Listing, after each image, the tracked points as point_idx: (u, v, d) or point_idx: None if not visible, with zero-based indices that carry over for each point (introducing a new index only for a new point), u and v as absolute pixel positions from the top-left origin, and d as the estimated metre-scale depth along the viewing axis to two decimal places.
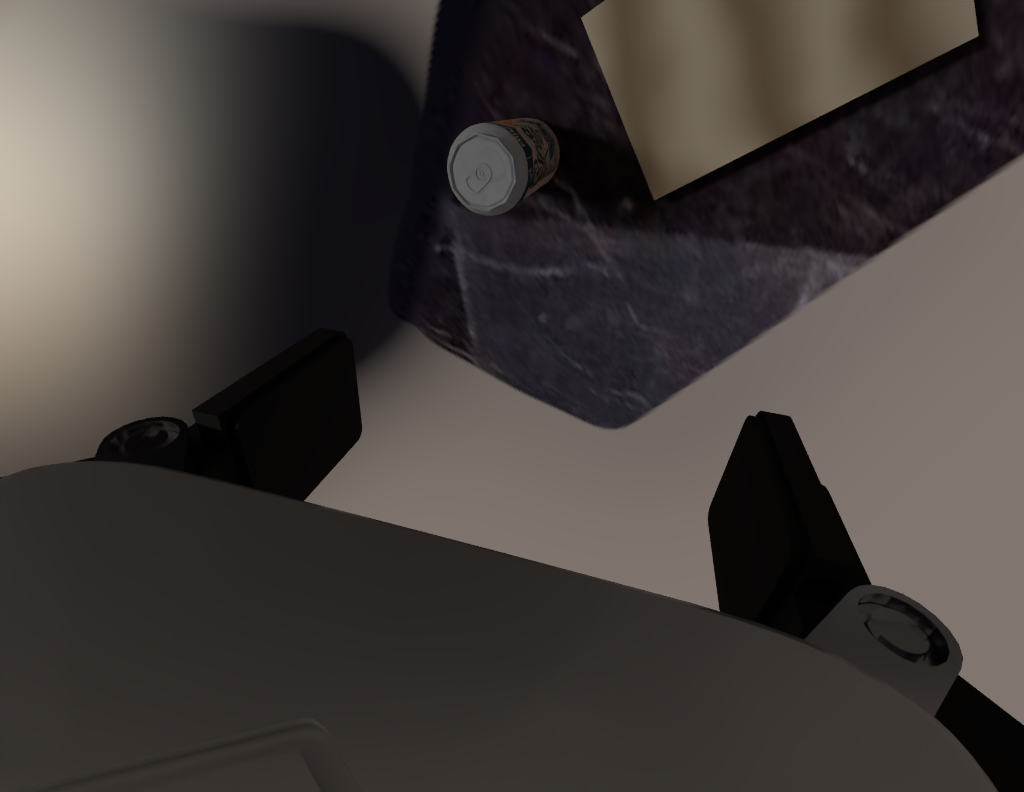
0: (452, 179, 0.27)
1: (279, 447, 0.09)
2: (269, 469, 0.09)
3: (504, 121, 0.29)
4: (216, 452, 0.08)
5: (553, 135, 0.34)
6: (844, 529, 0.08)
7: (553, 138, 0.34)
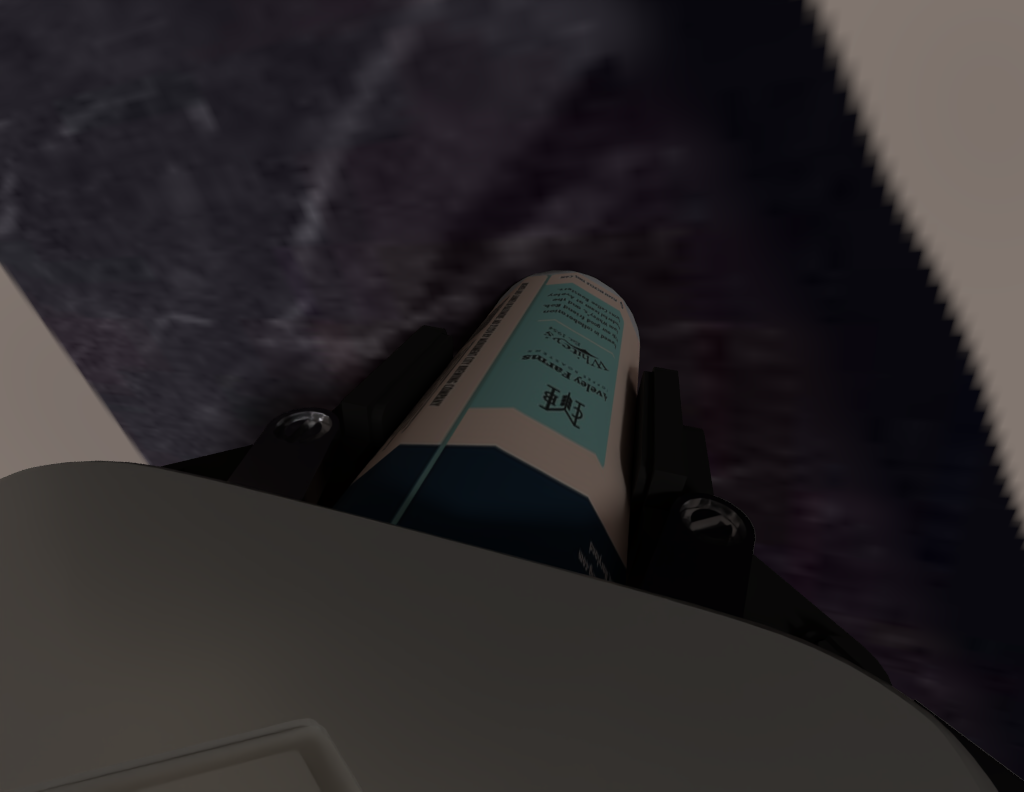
0: None
1: None
2: None
3: None
4: (358, 441, 0.09)
5: None
6: (706, 461, 0.09)
7: None
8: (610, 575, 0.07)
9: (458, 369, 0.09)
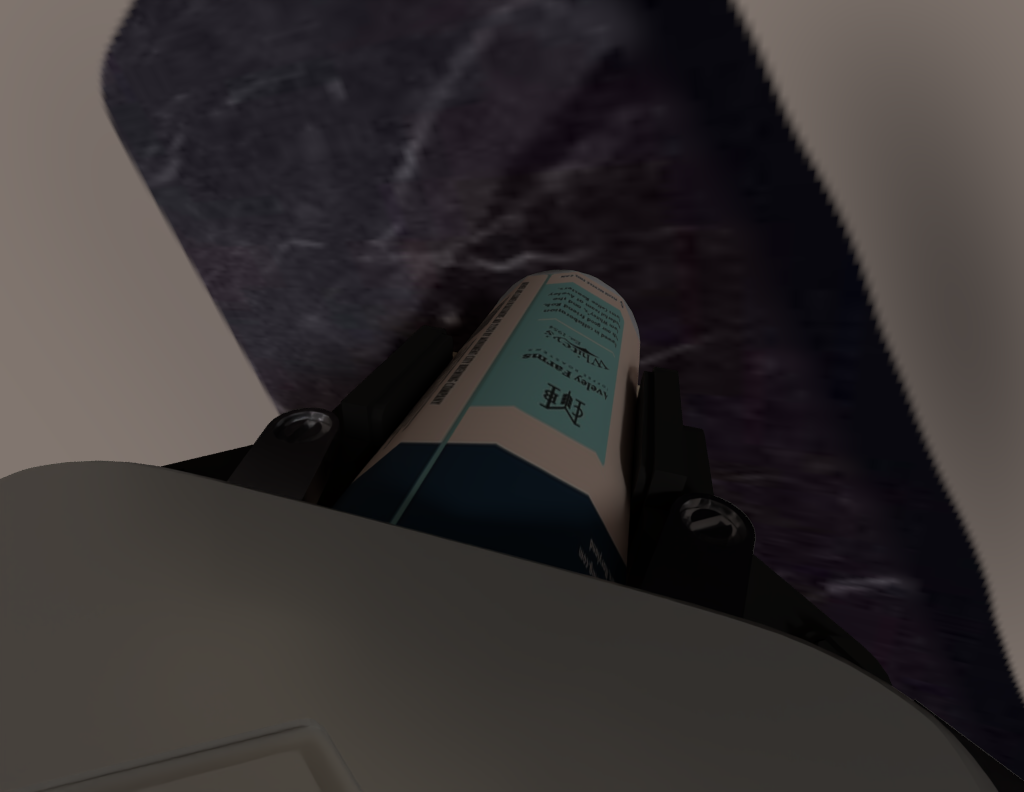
0: None
1: None
2: None
3: None
4: (358, 441, 0.09)
5: None
6: (706, 461, 0.09)
7: None
8: (610, 573, 0.07)
9: (459, 368, 0.09)
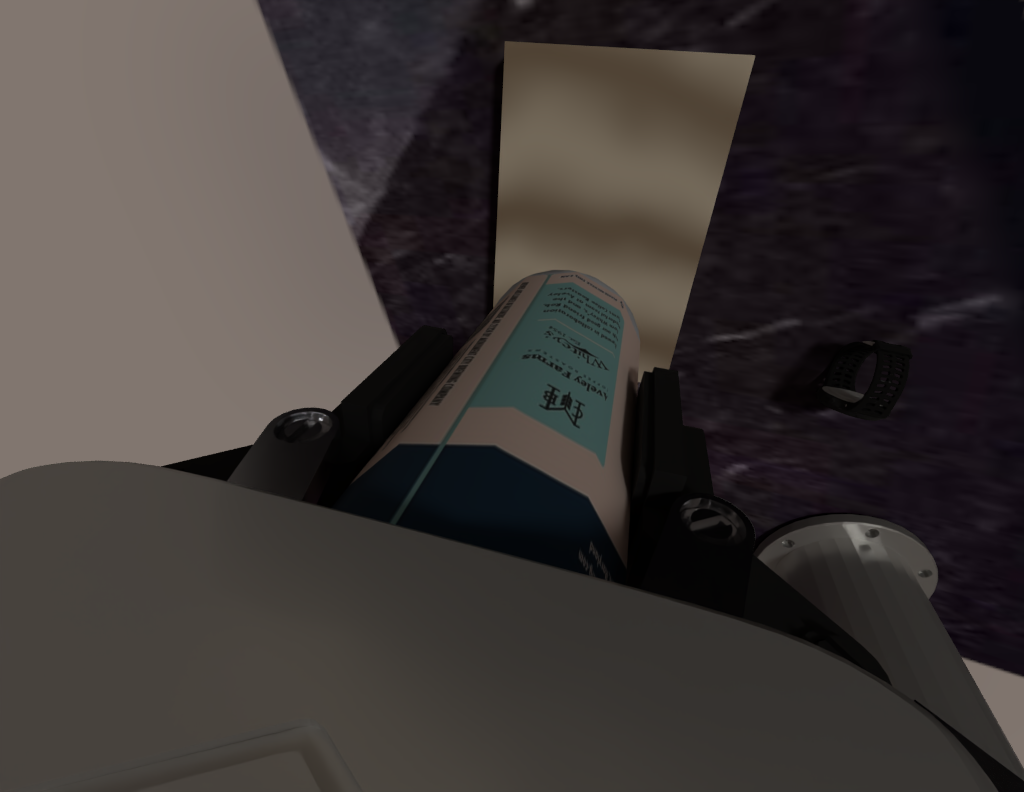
0: None
1: None
2: None
3: None
4: (358, 441, 0.09)
5: None
6: (706, 461, 0.09)
7: None
8: (610, 575, 0.06)
9: (458, 368, 0.09)
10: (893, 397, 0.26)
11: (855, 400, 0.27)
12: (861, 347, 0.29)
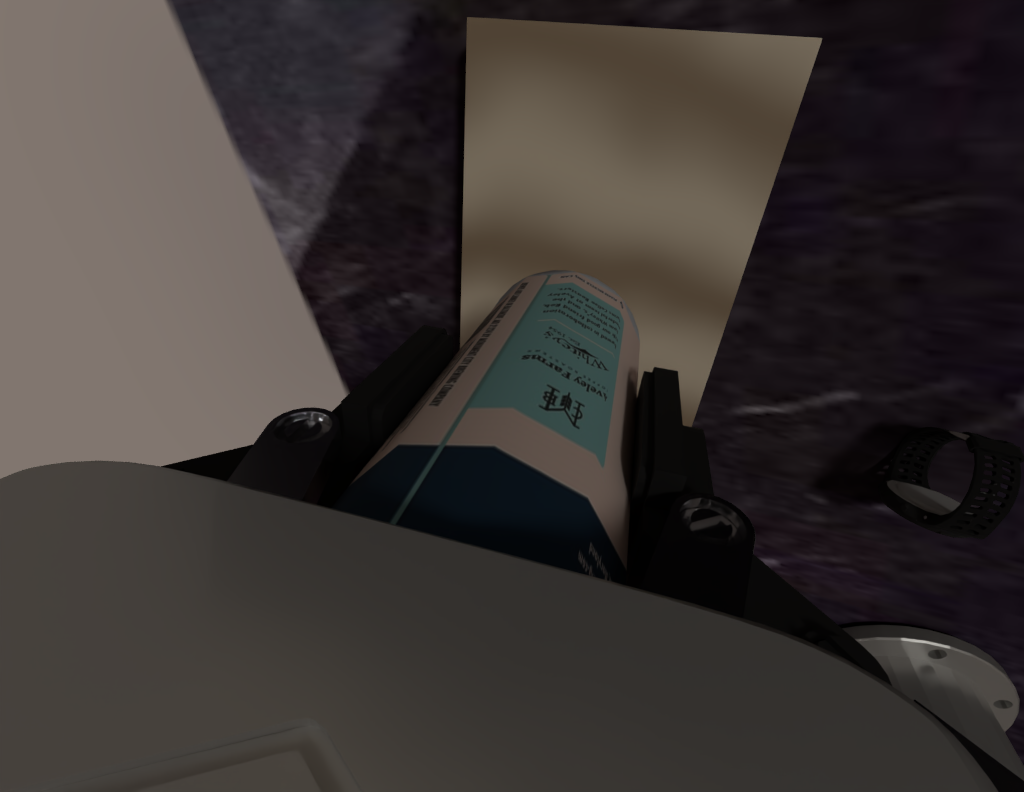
0: None
1: None
2: None
3: None
4: (358, 441, 0.09)
5: None
6: (706, 461, 0.09)
7: None
8: (610, 576, 0.06)
9: (457, 369, 0.09)
10: (997, 515, 0.19)
11: (937, 509, 0.20)
12: (941, 433, 0.22)
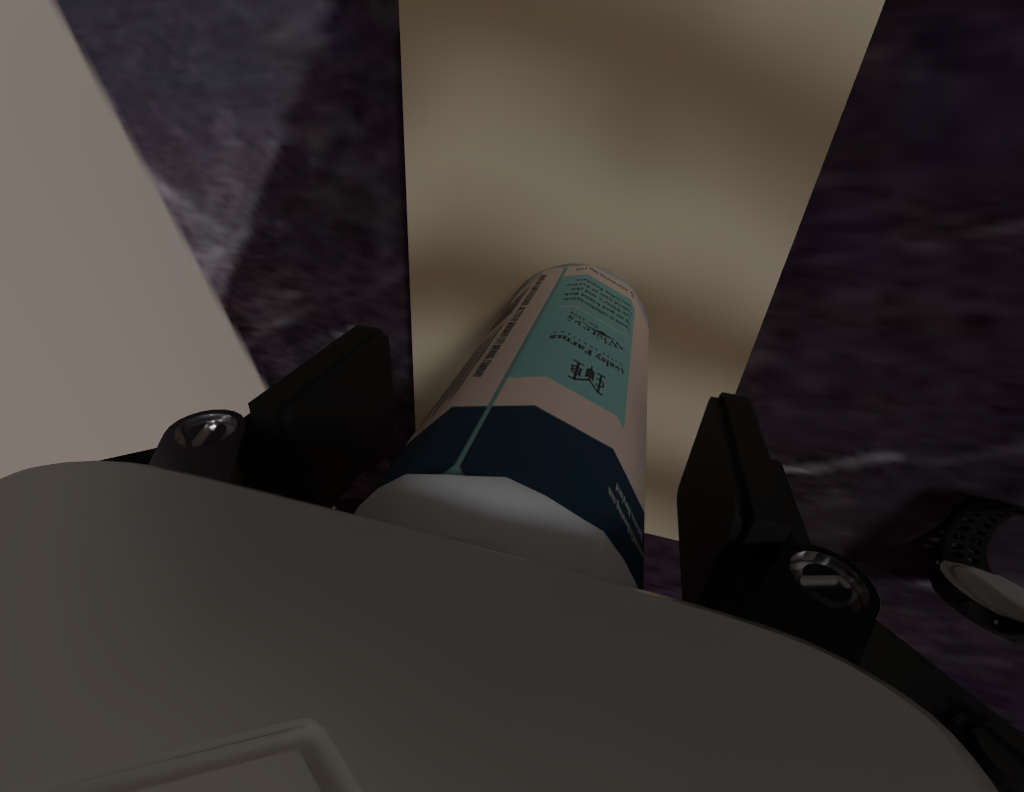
0: None
1: (325, 440, 0.10)
2: (316, 461, 0.10)
3: None
4: (269, 444, 0.09)
5: None
6: (793, 499, 0.08)
7: None
8: (632, 513, 0.08)
9: (493, 348, 0.10)
10: None
11: (1010, 610, 0.16)
12: (1009, 507, 0.17)
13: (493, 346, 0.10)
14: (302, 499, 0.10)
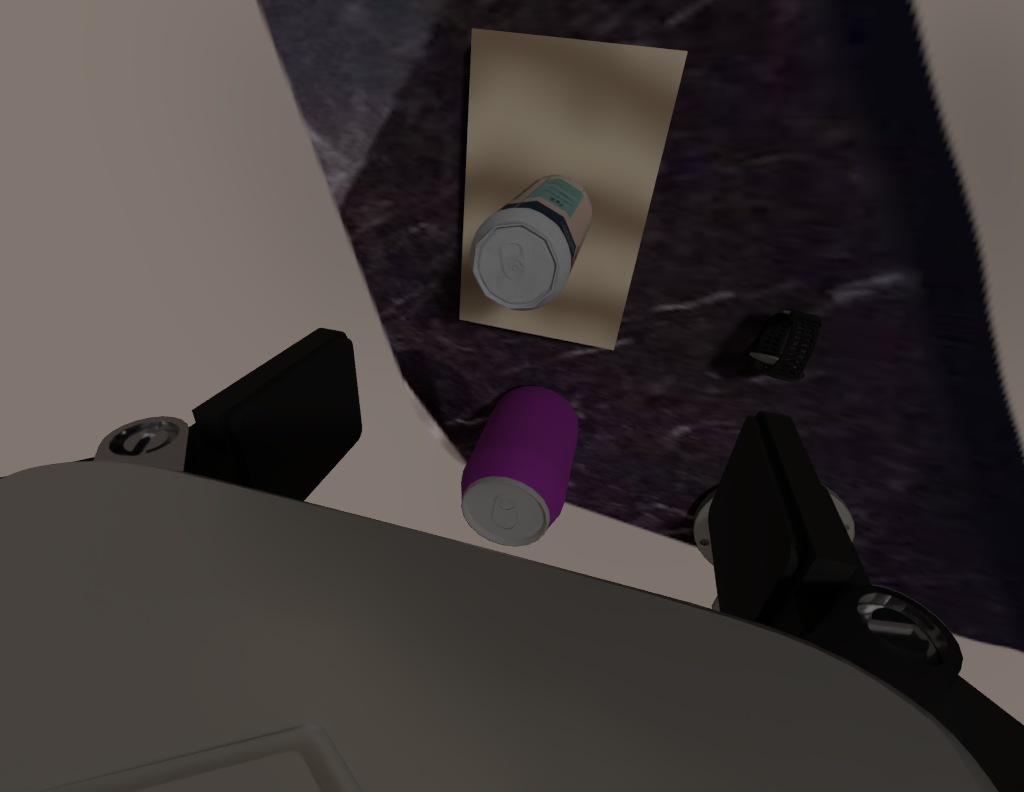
0: (532, 230, 0.20)
1: (279, 447, 0.09)
2: (269, 469, 0.09)
3: None
4: (216, 452, 0.08)
5: None
6: (844, 529, 0.08)
7: None
8: (570, 239, 0.22)
9: (518, 195, 0.25)
10: (804, 359, 0.29)
11: (775, 363, 0.31)
12: (784, 318, 0.32)
13: (518, 195, 0.25)
14: None
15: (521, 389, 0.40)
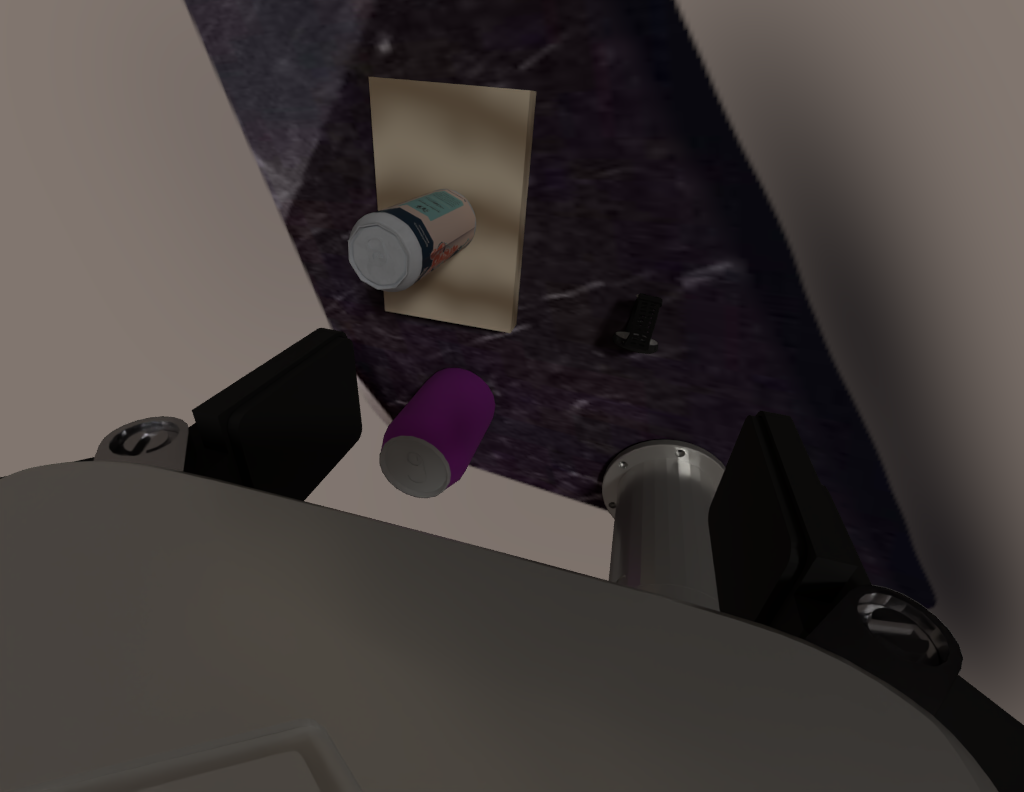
0: (385, 228, 0.27)
1: (279, 447, 0.09)
2: (269, 469, 0.09)
3: (444, 257, 0.33)
4: (216, 452, 0.08)
5: None
6: (844, 529, 0.08)
7: None
8: (425, 235, 0.29)
9: (397, 204, 0.32)
10: (648, 333, 0.36)
11: None
12: None
13: (397, 204, 0.32)
14: None
15: (443, 370, 0.47)
